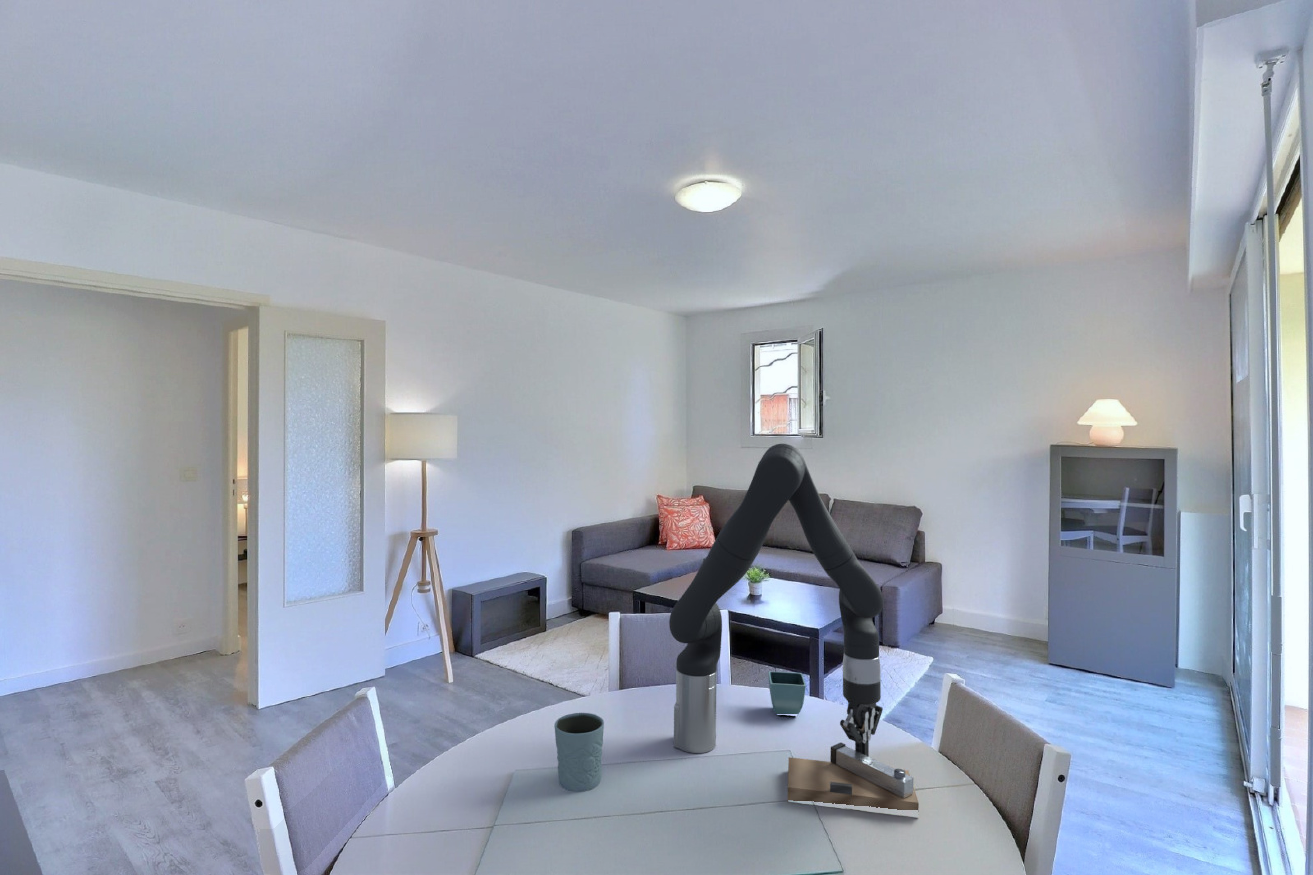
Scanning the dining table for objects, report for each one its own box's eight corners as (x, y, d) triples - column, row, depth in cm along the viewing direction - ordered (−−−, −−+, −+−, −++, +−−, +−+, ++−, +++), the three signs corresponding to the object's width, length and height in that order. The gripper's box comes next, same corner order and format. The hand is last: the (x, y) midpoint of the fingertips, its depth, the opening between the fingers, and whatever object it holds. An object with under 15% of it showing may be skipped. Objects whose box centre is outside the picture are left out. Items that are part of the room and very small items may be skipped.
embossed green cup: (595, 796, 132) (595, 736, 132) (546, 790, 134) (546, 731, 134) (609, 770, 142) (609, 714, 142) (563, 765, 144) (564, 709, 144)
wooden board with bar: (787, 802, 131) (787, 779, 131) (788, 771, 142) (788, 750, 142) (918, 818, 126) (918, 794, 126) (908, 785, 137) (908, 763, 137)
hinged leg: (913, 792, 129) (914, 773, 129) (903, 798, 127) (903, 778, 127) (840, 757, 142) (841, 739, 142) (830, 762, 140) (830, 743, 140)
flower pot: (801, 706, 175) (802, 672, 175) (805, 721, 167) (806, 685, 166) (767, 704, 176) (768, 670, 176) (769, 719, 168) (770, 683, 167)
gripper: (860, 689, 132) (860, 776, 133) (894, 672, 141) (895, 753, 142) (827, 679, 138) (828, 762, 138) (862, 662, 147) (863, 741, 147)
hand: (862, 757), depth 140 cm, fingers closed
